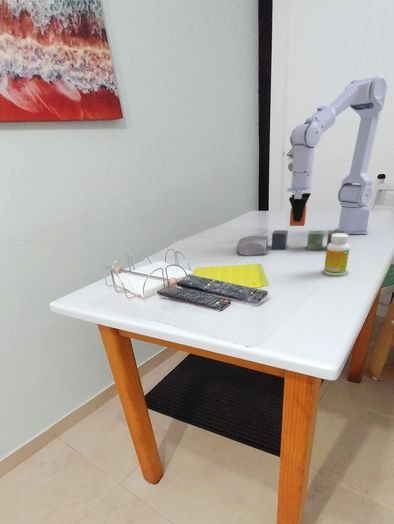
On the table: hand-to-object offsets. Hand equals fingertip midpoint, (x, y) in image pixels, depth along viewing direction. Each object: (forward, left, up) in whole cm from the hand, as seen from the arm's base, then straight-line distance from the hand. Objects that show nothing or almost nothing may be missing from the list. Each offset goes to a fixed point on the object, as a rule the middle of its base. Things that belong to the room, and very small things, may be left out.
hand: (298, 219), depth 107 cm
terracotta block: (0, 0, -1) cm, 1 cm away
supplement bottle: (-12, +24, -9) cm, 28 cm away
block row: (-3, +2, -8) cm, 9 cm away
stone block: (+14, +6, -9) cm, 17 cm away
